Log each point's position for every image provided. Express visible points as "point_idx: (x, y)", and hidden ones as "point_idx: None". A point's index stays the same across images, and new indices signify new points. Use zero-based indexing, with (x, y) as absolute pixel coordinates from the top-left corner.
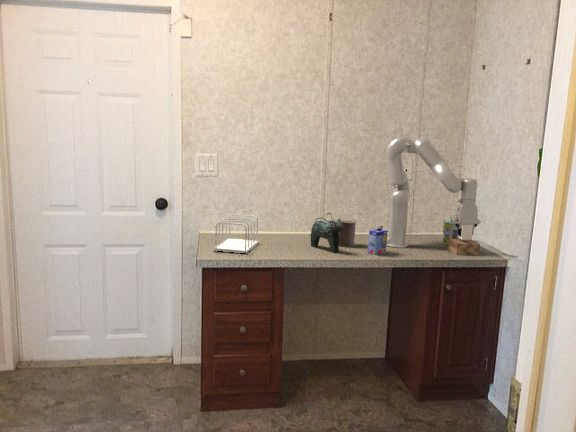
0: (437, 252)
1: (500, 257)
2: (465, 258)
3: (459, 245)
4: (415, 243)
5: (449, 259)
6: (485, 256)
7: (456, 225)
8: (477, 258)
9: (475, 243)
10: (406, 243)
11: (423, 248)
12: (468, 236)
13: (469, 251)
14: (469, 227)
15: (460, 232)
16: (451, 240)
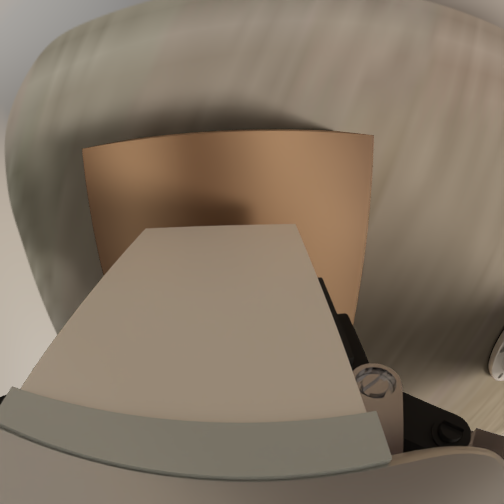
0: (445, 208)
1: (15, 115)
2: (298, 17)
3: (341, 132)
4: (432, 395)
5: (430, 10)
6: (94, 112)
7: (449, 416)
8: (187, 28)
9: (122, 176)
10: (500, 352)
11: (465, 305)
12: (187, 244)
13: (213, 131)
14: (131, 355)
15: (331, 310)
16: (352, 317)
